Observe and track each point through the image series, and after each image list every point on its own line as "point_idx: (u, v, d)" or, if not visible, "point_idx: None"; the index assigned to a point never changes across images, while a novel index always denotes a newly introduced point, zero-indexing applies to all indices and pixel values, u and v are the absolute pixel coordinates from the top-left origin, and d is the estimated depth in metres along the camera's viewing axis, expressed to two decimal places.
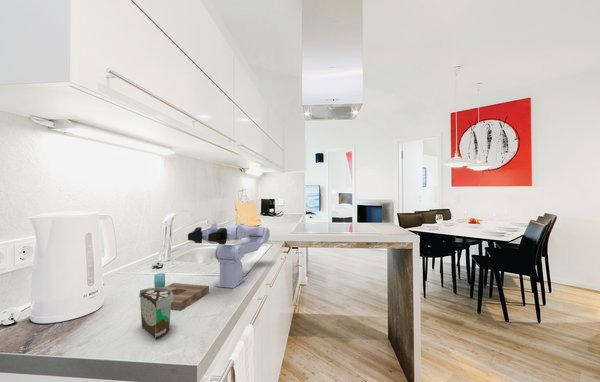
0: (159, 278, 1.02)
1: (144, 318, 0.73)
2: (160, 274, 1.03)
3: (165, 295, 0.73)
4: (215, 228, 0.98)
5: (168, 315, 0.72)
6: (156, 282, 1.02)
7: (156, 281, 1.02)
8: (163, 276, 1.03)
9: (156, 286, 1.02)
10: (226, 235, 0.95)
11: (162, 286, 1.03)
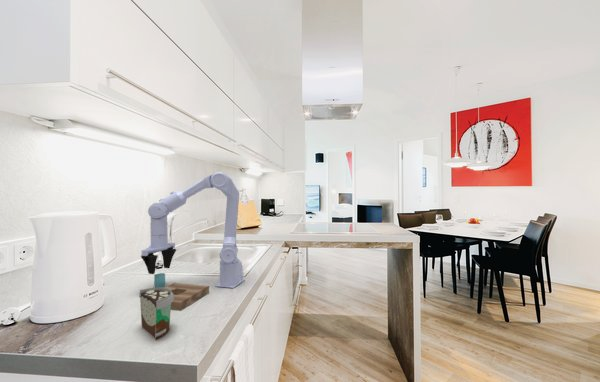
0: (159, 278, 1.02)
1: (144, 318, 0.73)
2: (160, 274, 1.03)
3: (165, 295, 0.73)
4: None
5: (168, 315, 0.72)
6: (156, 282, 1.02)
7: (156, 281, 1.02)
8: (163, 276, 1.03)
9: (156, 286, 1.02)
10: (145, 256, 0.98)
11: (162, 286, 1.03)
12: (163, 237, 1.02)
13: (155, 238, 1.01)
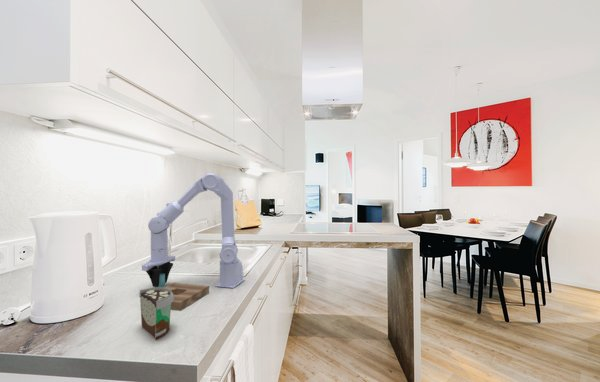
0: (159, 278, 1.02)
1: (144, 318, 0.73)
2: (160, 274, 1.03)
3: (165, 295, 0.73)
4: None
5: (168, 315, 0.72)
6: None
7: None
8: (163, 276, 1.03)
9: None
10: (149, 269, 1.00)
11: (162, 286, 1.03)
12: (163, 251, 1.02)
13: (155, 252, 1.01)
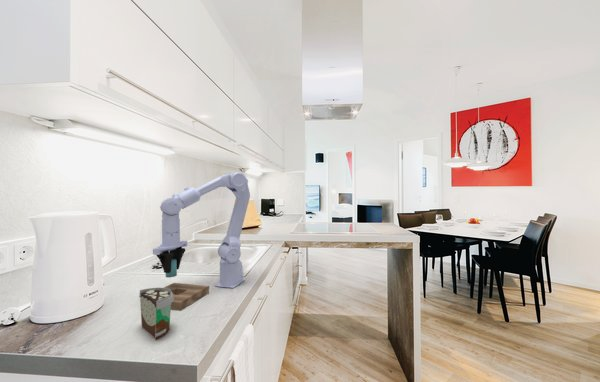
0: None
1: (144, 318, 0.73)
2: None
3: (165, 295, 0.73)
4: None
5: (168, 315, 0.72)
6: None
7: None
8: (174, 262, 0.96)
9: None
10: (161, 254, 0.93)
11: (173, 272, 0.96)
12: (175, 235, 0.95)
13: (167, 236, 0.94)
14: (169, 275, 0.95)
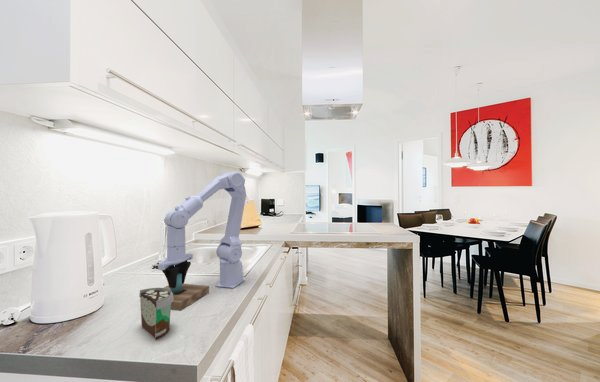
0: None
1: (144, 318, 0.73)
2: None
3: (165, 295, 0.73)
4: None
5: (168, 315, 0.72)
6: None
7: None
8: (179, 277, 0.93)
9: None
10: (166, 268, 0.90)
11: (178, 287, 0.93)
12: (181, 248, 0.92)
13: (172, 250, 0.91)
14: (174, 290, 0.92)
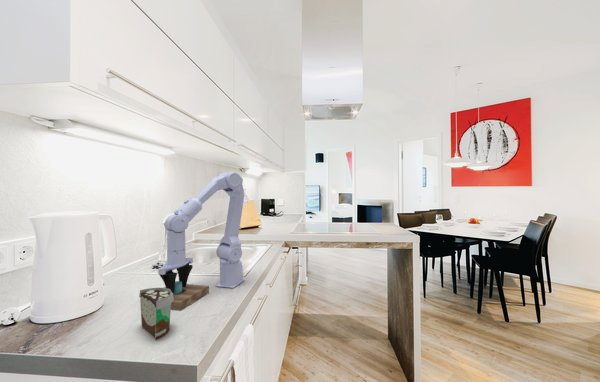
0: (175, 287, 0.92)
1: (144, 318, 0.73)
2: (176, 283, 0.94)
3: (165, 295, 0.73)
4: None
5: (168, 315, 0.72)
6: None
7: None
8: (180, 285, 0.93)
9: None
10: (164, 274, 0.89)
11: None
12: (181, 253, 0.92)
13: (172, 254, 0.91)
14: None
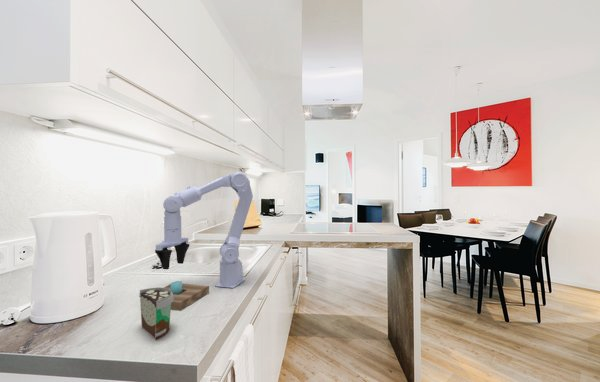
0: (175, 287, 0.92)
1: (144, 318, 0.73)
2: (176, 283, 0.94)
3: (165, 295, 0.73)
4: None
5: (168, 315, 0.72)
6: (172, 291, 0.92)
7: (172, 290, 0.92)
8: (180, 285, 0.93)
9: None
10: (159, 251, 0.95)
11: None
12: (177, 231, 0.99)
13: (169, 232, 0.98)
14: None
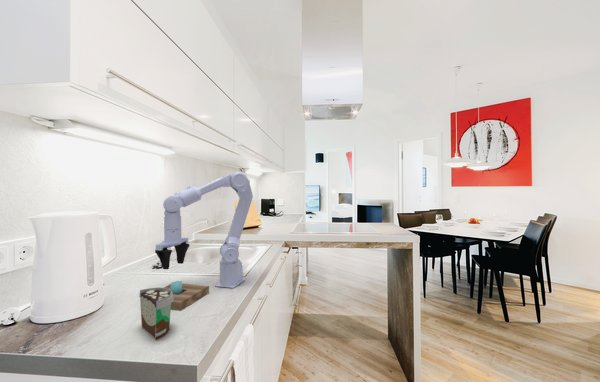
0: (175, 287, 0.92)
1: (144, 318, 0.73)
2: (176, 283, 0.94)
3: (165, 295, 0.73)
4: None
5: (168, 315, 0.72)
6: (172, 291, 0.92)
7: (172, 290, 0.92)
8: (180, 285, 0.93)
9: None
10: (159, 250, 0.95)
11: None
12: (177, 231, 0.99)
13: (169, 232, 0.98)
14: None
